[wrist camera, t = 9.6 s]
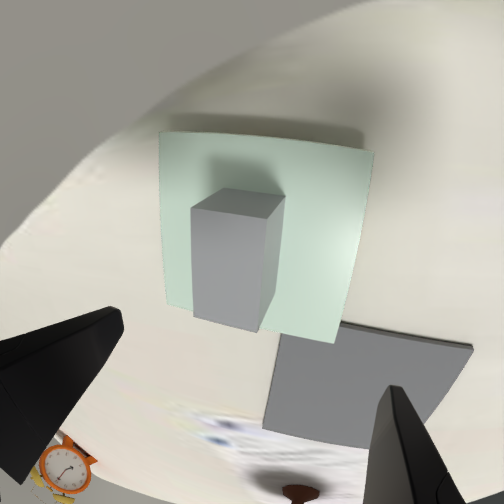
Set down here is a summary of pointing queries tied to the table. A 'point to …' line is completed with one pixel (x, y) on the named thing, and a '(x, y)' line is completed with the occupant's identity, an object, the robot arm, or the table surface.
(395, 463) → the robot arm
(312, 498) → the ice cream bowl
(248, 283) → the cover
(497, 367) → the table surface
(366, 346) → the mat
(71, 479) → the alarm clock
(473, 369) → the table surface
